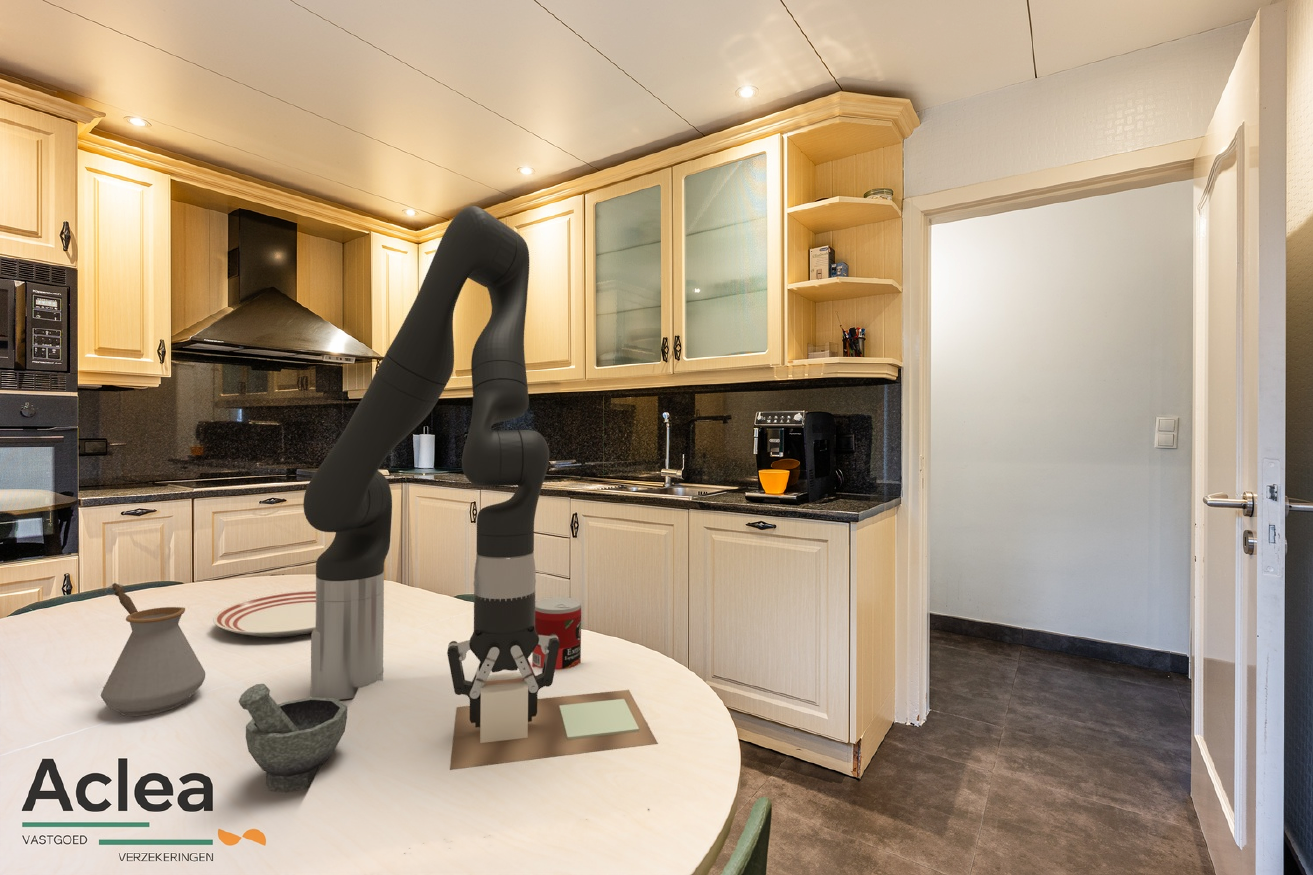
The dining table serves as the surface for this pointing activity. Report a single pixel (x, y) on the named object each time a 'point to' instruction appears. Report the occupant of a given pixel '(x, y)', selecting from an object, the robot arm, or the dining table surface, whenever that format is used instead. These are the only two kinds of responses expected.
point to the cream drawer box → (504, 708)
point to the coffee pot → (152, 663)
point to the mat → (597, 719)
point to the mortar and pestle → (291, 736)
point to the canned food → (559, 630)
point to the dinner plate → (271, 615)
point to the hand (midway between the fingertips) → (503, 721)
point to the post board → (543, 734)
